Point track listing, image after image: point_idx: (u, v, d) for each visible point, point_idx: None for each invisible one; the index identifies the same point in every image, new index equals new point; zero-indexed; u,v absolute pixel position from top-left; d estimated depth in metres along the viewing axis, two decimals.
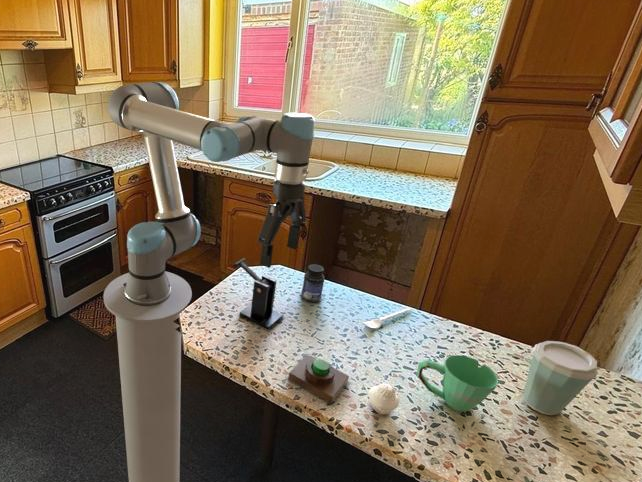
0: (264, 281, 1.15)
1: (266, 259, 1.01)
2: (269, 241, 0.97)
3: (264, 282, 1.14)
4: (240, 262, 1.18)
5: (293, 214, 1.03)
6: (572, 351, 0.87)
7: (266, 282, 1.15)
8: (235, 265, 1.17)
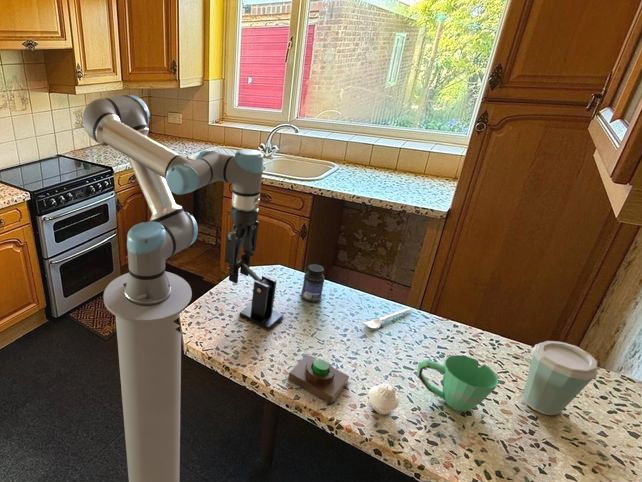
0: (264, 281, 1.15)
1: (233, 276, 1.18)
2: (234, 262, 1.14)
3: (264, 282, 1.14)
4: (240, 262, 1.18)
5: (247, 239, 1.16)
6: (572, 351, 0.87)
7: (266, 282, 1.15)
8: None
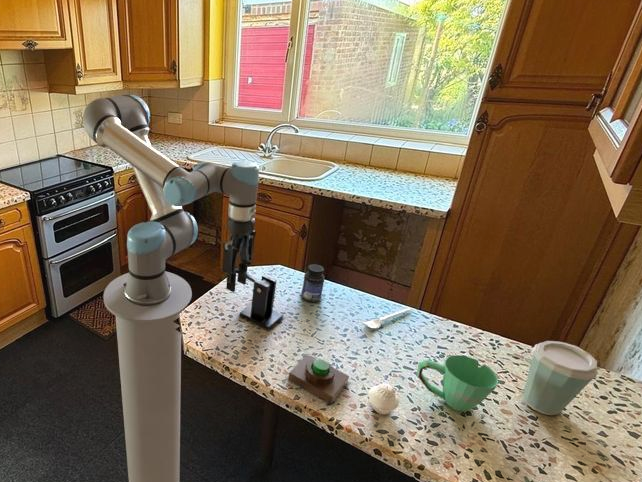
0: (263, 281, 1.15)
1: (230, 285, 1.20)
2: (231, 271, 1.16)
3: (263, 282, 1.15)
4: (236, 269, 1.20)
5: (244, 248, 1.18)
6: (572, 351, 0.87)
7: (265, 281, 1.15)
8: None
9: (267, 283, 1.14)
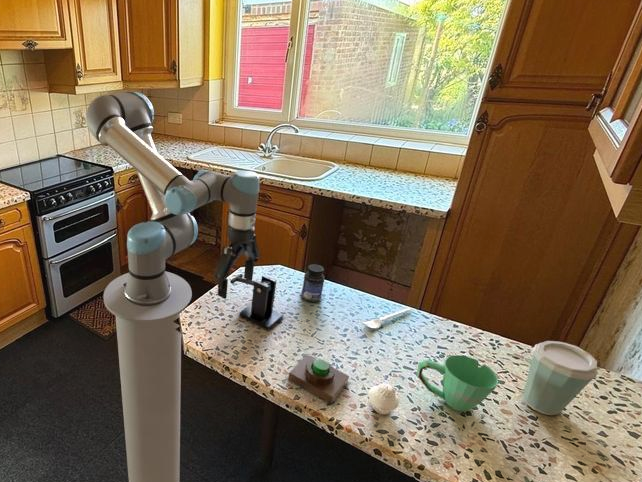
0: (262, 281, 1.15)
1: (222, 291, 1.18)
2: (223, 277, 1.14)
3: (262, 282, 1.15)
4: (236, 277, 1.21)
5: (246, 252, 1.20)
6: (572, 351, 0.87)
7: (264, 281, 1.15)
8: (231, 281, 1.20)
9: (266, 282, 1.15)
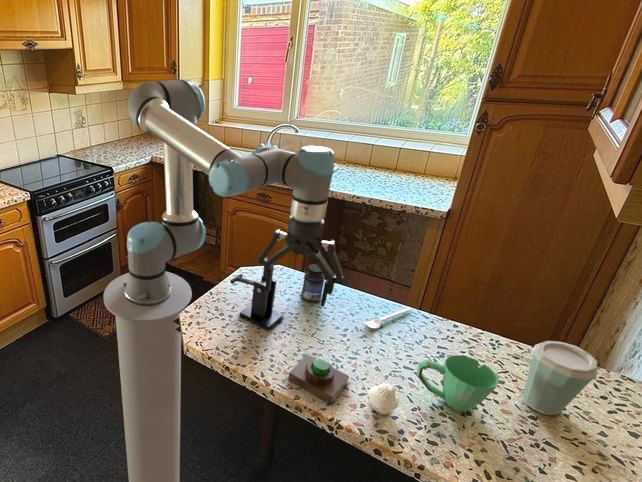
0: (262, 281, 1.15)
1: None
2: (265, 262, 0.98)
3: (262, 282, 1.15)
4: (236, 277, 1.21)
5: None
6: (572, 351, 0.87)
7: (264, 281, 1.15)
8: (231, 281, 1.20)
9: None
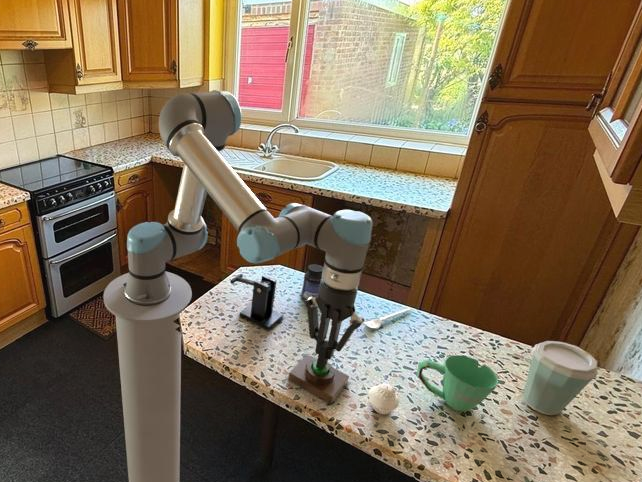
0: (262, 281, 1.15)
1: None
2: (317, 339, 0.92)
3: (262, 282, 1.15)
4: (236, 277, 1.21)
5: None
6: (572, 351, 0.87)
7: (264, 281, 1.15)
8: (231, 281, 1.20)
9: (266, 282, 1.15)
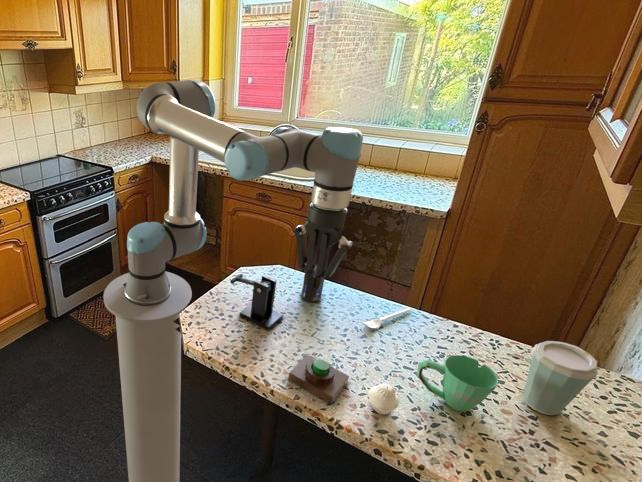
0: (262, 281, 1.15)
1: None
2: (305, 269, 0.91)
3: (262, 282, 1.15)
4: (236, 277, 1.21)
5: None
6: (572, 351, 0.87)
7: (264, 281, 1.15)
8: (231, 281, 1.20)
9: (266, 282, 1.15)
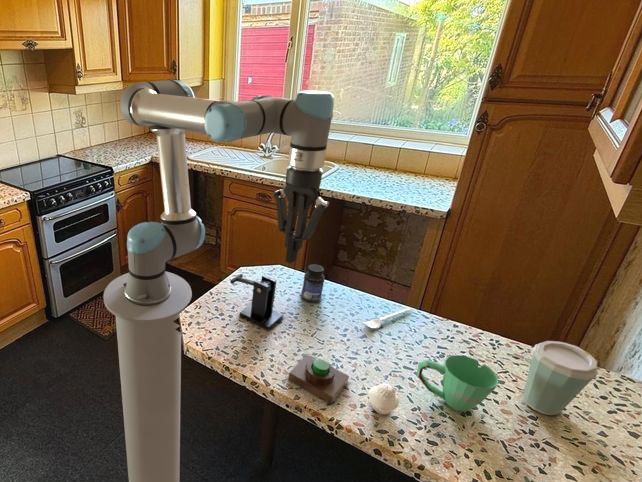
0: (262, 281, 1.15)
1: None
2: (285, 232, 0.95)
3: (262, 282, 1.15)
4: (236, 277, 1.21)
5: None
6: (572, 351, 0.87)
7: (264, 281, 1.15)
8: (231, 281, 1.20)
9: (266, 282, 1.15)
